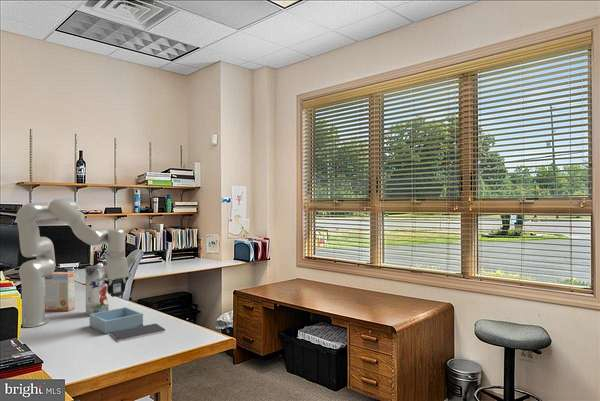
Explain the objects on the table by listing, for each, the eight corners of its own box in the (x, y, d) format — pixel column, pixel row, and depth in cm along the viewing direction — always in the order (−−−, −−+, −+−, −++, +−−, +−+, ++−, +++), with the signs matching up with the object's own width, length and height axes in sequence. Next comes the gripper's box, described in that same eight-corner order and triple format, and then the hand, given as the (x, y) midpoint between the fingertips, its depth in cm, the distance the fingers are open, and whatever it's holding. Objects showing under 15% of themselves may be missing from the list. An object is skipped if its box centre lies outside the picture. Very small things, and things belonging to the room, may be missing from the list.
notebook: (156, 326, 204) (109, 335, 190) (156, 323, 204) (109, 332, 190) (166, 333, 194) (118, 343, 180) (166, 329, 194) (117, 339, 180)
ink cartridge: (112, 297, 200) (111, 280, 200) (110, 296, 202) (110, 279, 202) (122, 295, 203) (122, 279, 203) (121, 294, 205) (120, 278, 205)
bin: (105, 334, 190) (105, 321, 190) (89, 326, 202) (89, 314, 202) (143, 325, 203) (142, 313, 203) (126, 318, 215) (126, 306, 215)
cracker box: (75, 308, 235) (75, 271, 235) (68, 311, 229) (68, 273, 229) (51, 308, 236) (51, 271, 236) (44, 311, 230) (44, 273, 230)
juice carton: (83, 315, 221) (82, 264, 221) (98, 310, 231) (97, 261, 231) (96, 316, 219) (96, 265, 219) (111, 311, 229) (110, 262, 229)
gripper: (101, 257, 194) (101, 296, 194) (136, 253, 206) (136, 290, 206) (94, 256, 199) (95, 294, 199) (129, 252, 211) (129, 288, 211)
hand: (116, 291), depth 202 cm, fingers closed on ink cartridge, 5 cm apart
